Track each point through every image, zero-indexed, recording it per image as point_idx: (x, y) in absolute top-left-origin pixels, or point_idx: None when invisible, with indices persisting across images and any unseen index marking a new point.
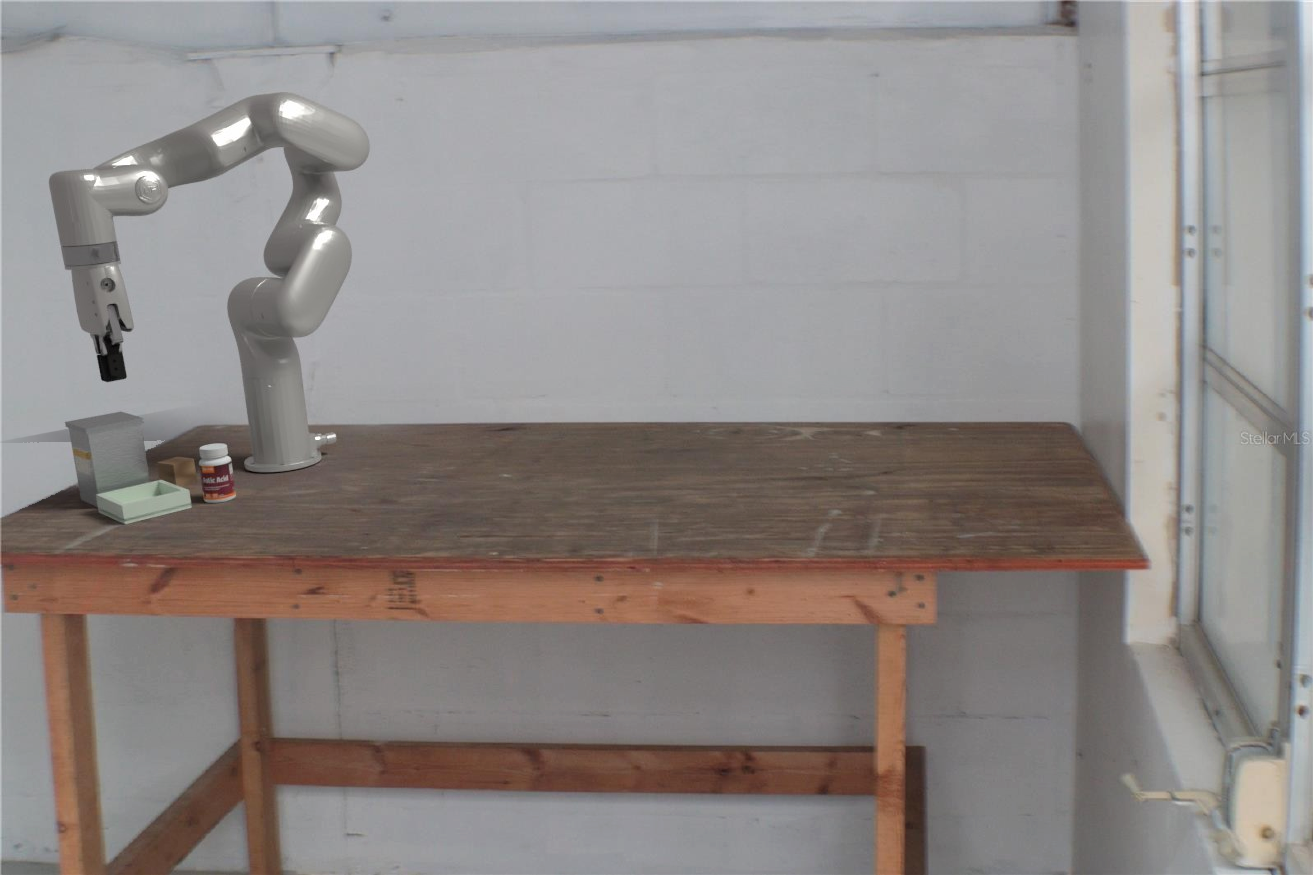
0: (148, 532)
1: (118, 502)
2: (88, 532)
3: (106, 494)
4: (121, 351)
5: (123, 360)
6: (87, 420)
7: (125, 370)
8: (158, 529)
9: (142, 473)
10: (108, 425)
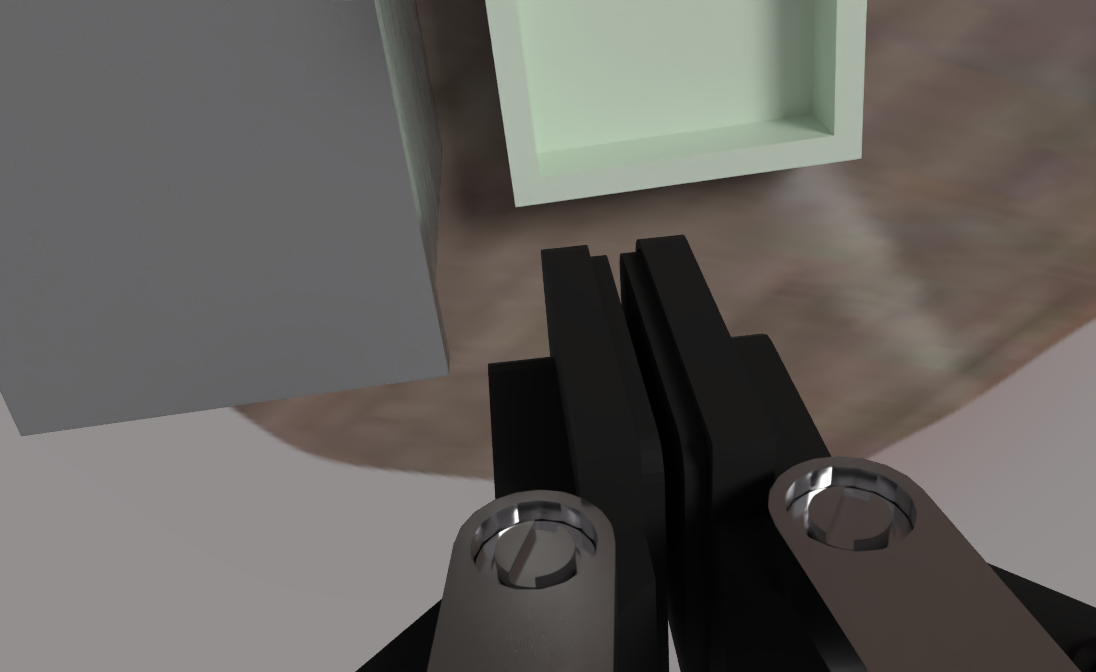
0: (1051, 77)
1: (782, 156)
2: (807, 271)
3: (535, 159)
4: (891, 484)
5: (738, 359)
6: (88, 307)
7: (702, 276)
8: (1051, 29)
9: None
10: (418, 219)
